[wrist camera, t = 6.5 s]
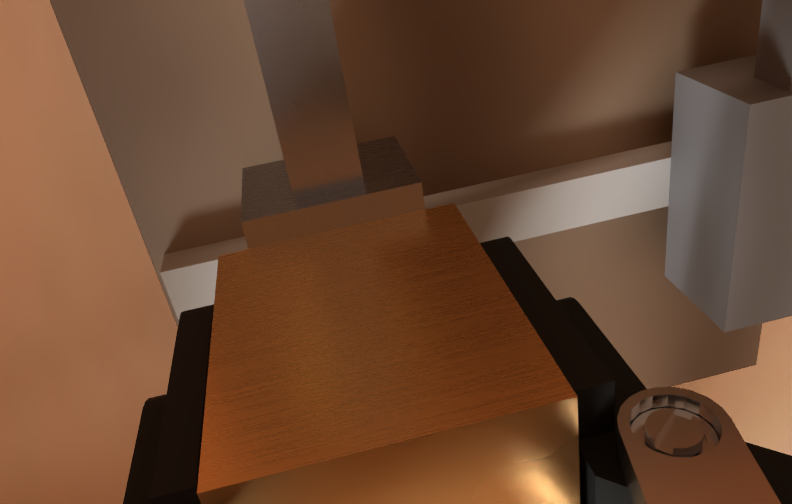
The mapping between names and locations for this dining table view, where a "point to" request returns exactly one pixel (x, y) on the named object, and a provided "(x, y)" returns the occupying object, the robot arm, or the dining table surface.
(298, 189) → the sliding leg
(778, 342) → the dining table surface
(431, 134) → the gauge plate
